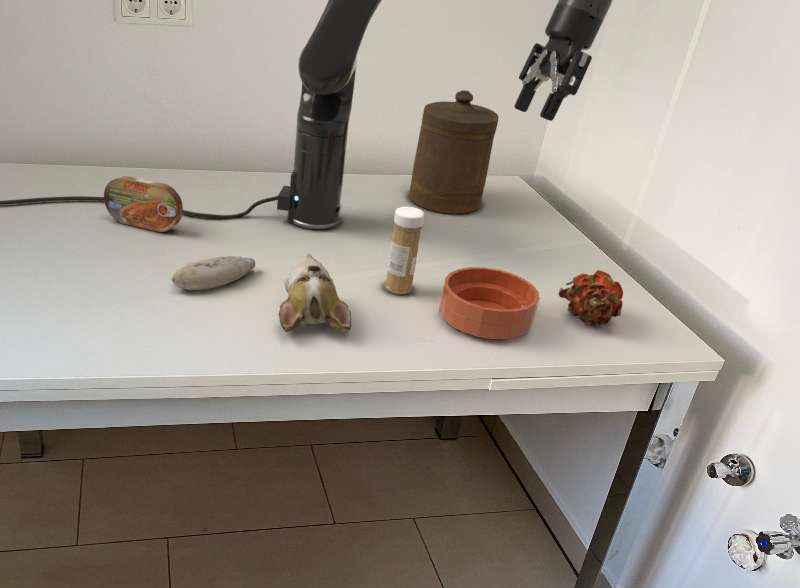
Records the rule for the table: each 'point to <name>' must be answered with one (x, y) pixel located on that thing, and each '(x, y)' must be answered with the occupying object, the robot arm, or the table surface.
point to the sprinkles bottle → (404, 249)
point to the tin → (143, 203)
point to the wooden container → (453, 155)
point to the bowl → (488, 302)
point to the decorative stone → (212, 272)
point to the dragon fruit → (594, 297)
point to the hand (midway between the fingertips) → (532, 114)
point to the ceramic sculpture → (312, 298)
